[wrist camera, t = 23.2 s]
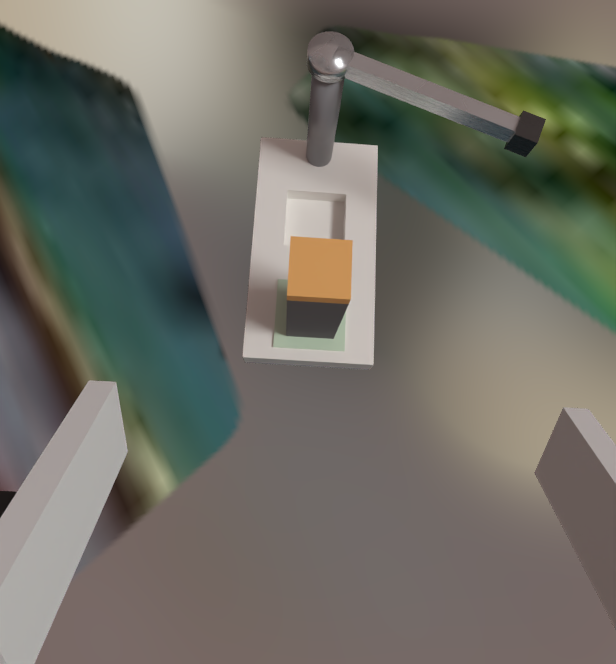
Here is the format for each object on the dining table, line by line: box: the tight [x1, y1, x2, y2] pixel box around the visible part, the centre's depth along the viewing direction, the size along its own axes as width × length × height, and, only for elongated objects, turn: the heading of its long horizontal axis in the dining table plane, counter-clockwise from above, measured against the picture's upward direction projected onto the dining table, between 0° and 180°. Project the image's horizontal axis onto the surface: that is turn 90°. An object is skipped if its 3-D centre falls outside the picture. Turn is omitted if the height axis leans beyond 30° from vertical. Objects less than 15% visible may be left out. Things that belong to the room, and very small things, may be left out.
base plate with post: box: [242, 76, 378, 370], centre depth 39 cm, size 21×11×13 cm, turn 177°
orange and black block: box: [286, 236, 353, 339], centre depth 36 cm, size 4×4×11 cm
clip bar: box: [307, 31, 546, 157], centre depth 34 cm, size 17×3×2 cm, turn 67°
